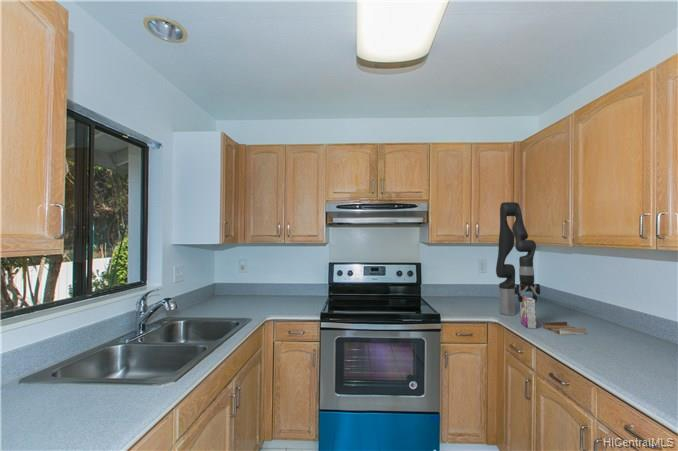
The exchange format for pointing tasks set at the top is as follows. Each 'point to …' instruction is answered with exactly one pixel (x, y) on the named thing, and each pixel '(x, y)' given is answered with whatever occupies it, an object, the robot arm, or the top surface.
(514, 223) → the robot arm
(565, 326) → the shelf
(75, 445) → the top surface
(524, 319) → the candy bar box
